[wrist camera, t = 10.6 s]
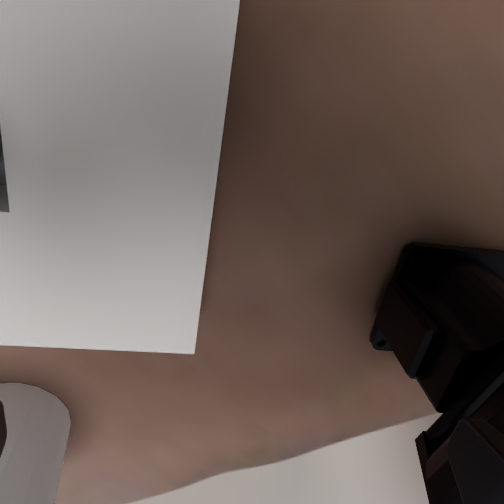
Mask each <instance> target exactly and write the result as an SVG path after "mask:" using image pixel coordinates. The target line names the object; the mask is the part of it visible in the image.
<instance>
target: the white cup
mask: <svg viewBox="0 0 504 504" xmlns="http://www.w3.org/2000/svg"><path fill="white" fill-rule="evenodd" d="M0 400H1V401H2V403H3V406H4V413H5V420H6V426H7V438H6V443H5V446H4V449H3V452H2V455H1V457H0V504H55V500H56V495H57V490H58V485H59V480H60V475H61V470H62V465H63V461H64V456H65V451H66V446H67V441H68V436H69V431H70V426H71V420H70V416H69V412H68V409H67V408H66V406H65V405H64V404H63V403H62V402H61V401H60V400H59V399H58V398H57V396H55V395H53V394H51V393H49V392H47V391H45V390H43V389H41V388H40V387H36V386H31V385H27V384H22V383H17V382H15V383H0Z"/></svg>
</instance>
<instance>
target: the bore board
mask: <svg viewBox="0 0 504 504" xmlns="http://www.w3.org/2000/svg"><path fill="white" fill-rule="evenodd" d="M239 4H240V0H0V128H1V137H2V146H3V155H4V161H3V162H2V163H0V345H11V346H33V347H54V348H76V349H97V350H119V351H141V352H162V353H184V354H194V352H195V344H196V336H197V329H198V321H199V313H200V305H201V298H202V290H203V282H204V274H205V267H206V259H207V251H208V244H209V236H210V228H211V220H212V213H213V205H214V197H215V189H216V182H217V174H218V166H219V159H220V151H221V143H222V135H223V128H224V120H225V112H226V104H227V97H228V89H229V81H230V74H231V66H232V58H233V50H234V43H235V35H236V27H237V19H238V12H239Z"/></svg>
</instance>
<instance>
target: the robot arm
mask: <svg viewBox="0 0 504 504" xmlns="http://www.w3.org/2000/svg"><path fill="white" fill-rule="evenodd" d="M414 251H417V252H416V254H414V255H413V256H411V254H412V252H414ZM375 323H376V324H375V327H374V330H373V332H372V335H371V338H370V342H371V344H372V346H373V348H374V349H376V350H384V351H393V352H394V354H395V356H396V357H397V359H398V361H399V362H400V364H401V365H402V367H403V369H404V370H405V372H406V374H407V375H408V376H409V377H410V378H411V379H417V381H418V382H419V384H420V386H421V387H422V389H423V390H424V392H425V394H426V395H427V397H428V398H429V400H430V402H431V403H432V405H433V406H434V408H435V410H436V411H437V412H439V413H443V414H442V415H441V416H440V417H439V418H438V419H437V420H436V421H435V422H434V424H433V425H432V426H431V427H430V428H429V429H428V430H427V431H423V432H422V433H421V434H420V435H419V436H418V437H417V438H416V439H415V442H416V447H417V451H418V456H419V460H420V464H421V468H422V473H423V478H424V482H425V487H426V491H427V495H428V500H429V504H504V251H495V250H485V249H475V248H466V247H456V246H446V245H437V244H427V243H417V242H413V243H410V244H408V245H406V246H405V247H404V249H403V251H402V254H401V257H400V259H399V262H398V265H397V267H396V270H395V273H394V275H393V278H392V281H391V282H390V283H389V284H388V287H387V290H386V293H385V295H384V298H383V301H382V303H381V306H380V309H379V312H378V314H377V317H376V320H375ZM380 340H382V341H380ZM378 341H380V342H378ZM6 438H7V426H6V420H5V413H4V406H3V403H2V401H1V400H0V457H1V455H2V452H3V449H4V446H5V443H6Z"/></svg>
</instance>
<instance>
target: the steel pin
mask: <svg viewBox="0 0 504 504" xmlns="http://www.w3.org/2000/svg"><path fill="white" fill-rule="evenodd" d="M3 161H4V155H3V146H2V137H1V128H0V163H2V162H3Z"/></svg>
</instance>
